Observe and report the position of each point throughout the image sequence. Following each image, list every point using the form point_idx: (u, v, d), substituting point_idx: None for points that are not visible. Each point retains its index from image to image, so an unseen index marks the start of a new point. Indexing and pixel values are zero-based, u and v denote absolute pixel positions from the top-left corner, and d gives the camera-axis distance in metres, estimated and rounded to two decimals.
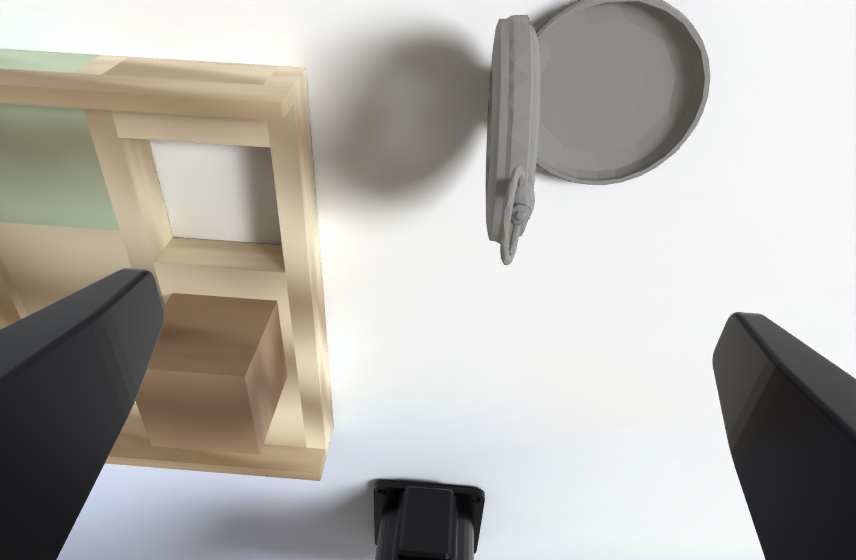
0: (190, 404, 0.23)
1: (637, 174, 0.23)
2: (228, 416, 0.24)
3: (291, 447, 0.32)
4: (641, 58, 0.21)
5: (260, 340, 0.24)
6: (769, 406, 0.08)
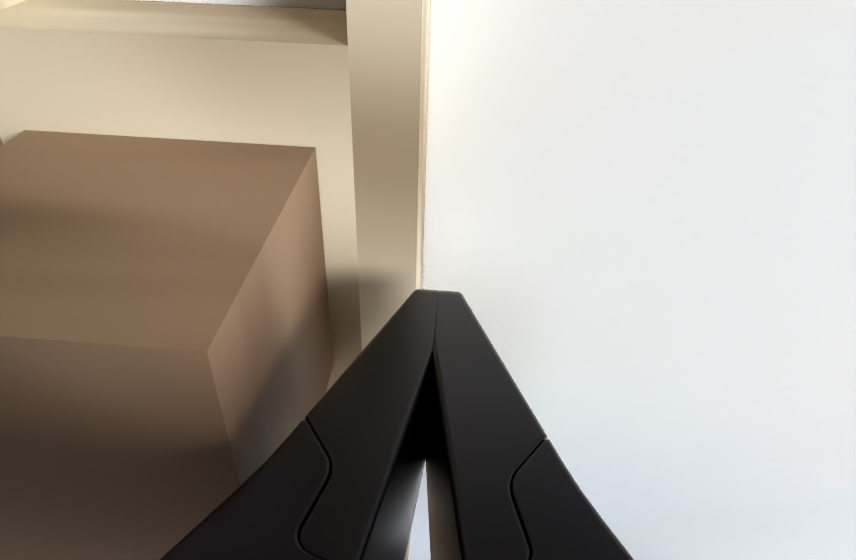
0: (24, 451, 0.07)
1: None
2: (161, 491, 0.07)
3: None
4: None
5: (269, 237, 0.07)
6: None
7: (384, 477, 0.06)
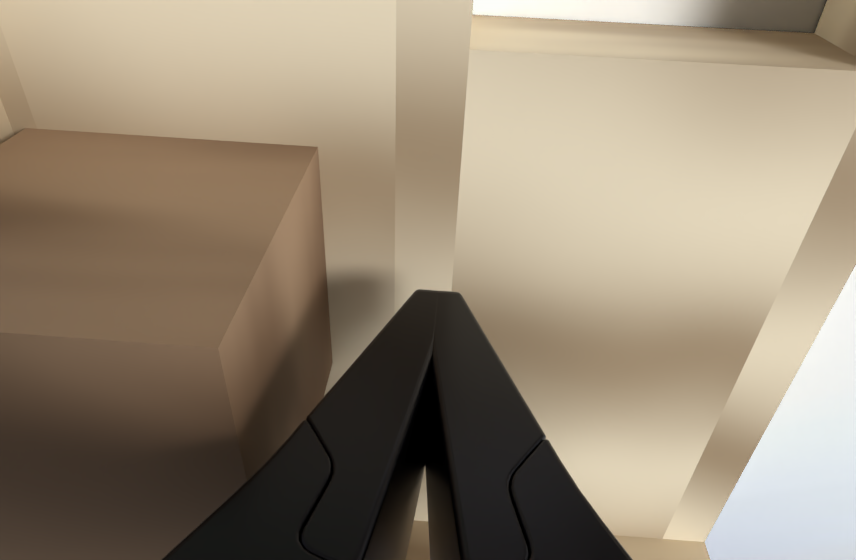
0: (30, 449, 0.07)
1: None
2: (168, 487, 0.07)
3: (627, 539, 0.15)
4: None
5: (275, 235, 0.07)
6: None
7: (386, 477, 0.06)
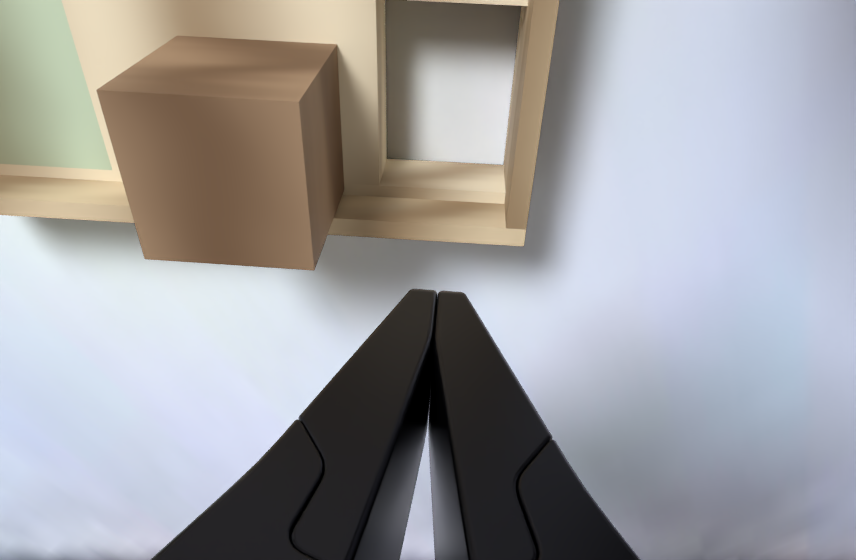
0: (193, 190, 0.15)
1: None
2: (204, 136, 0.14)
3: None
4: None
5: (139, 62, 0.15)
6: (433, 380, 0.08)
7: (377, 476, 0.06)
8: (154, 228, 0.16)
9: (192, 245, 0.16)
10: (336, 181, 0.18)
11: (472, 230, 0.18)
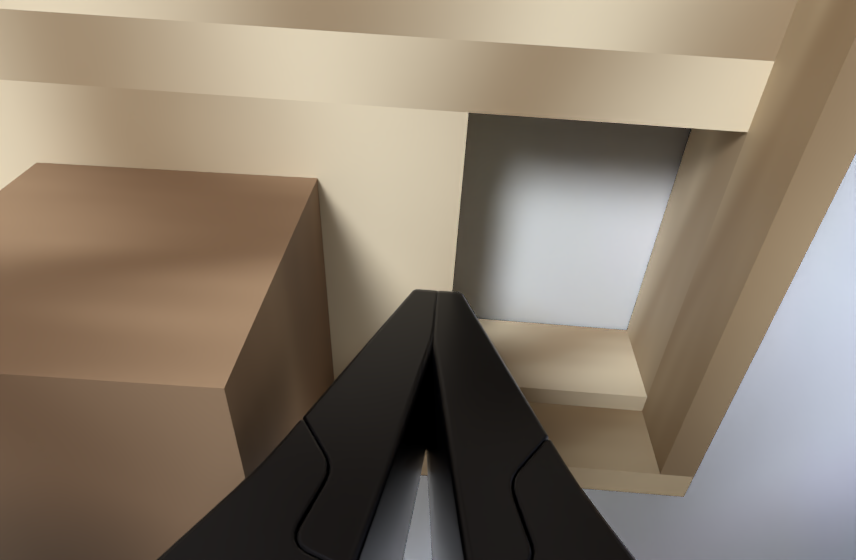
0: (31, 507, 0.07)
1: None
2: (32, 435, 0.07)
3: None
4: None
5: None
6: (430, 380, 0.08)
7: (382, 477, 0.06)
8: None
9: None
10: (320, 392, 0.11)
11: (602, 473, 0.11)
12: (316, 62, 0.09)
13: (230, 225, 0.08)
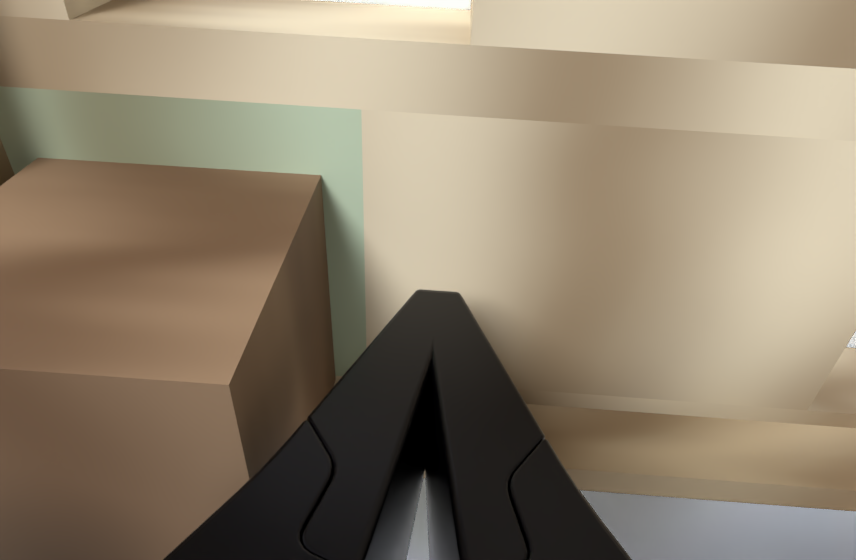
0: (31, 504, 0.07)
1: None
2: (34, 432, 0.07)
3: None
4: None
5: None
6: None
7: (387, 477, 0.06)
8: None
9: None
10: (321, 391, 0.11)
11: None
12: (828, 99, 0.08)
13: (234, 221, 0.08)
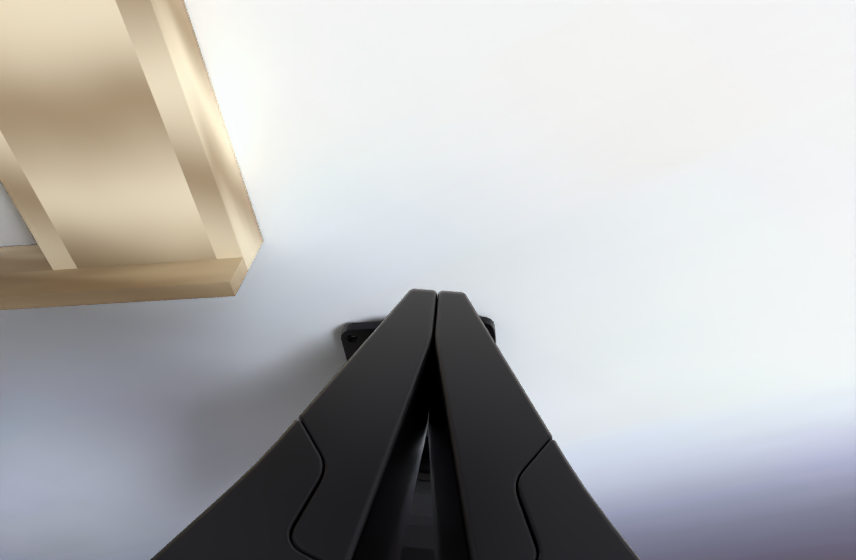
0: None
1: None
2: None
3: (197, 263, 0.22)
4: None
5: None
6: (433, 380, 0.08)
7: (377, 476, 0.06)
8: None
9: None
10: None
11: None
12: None
13: None
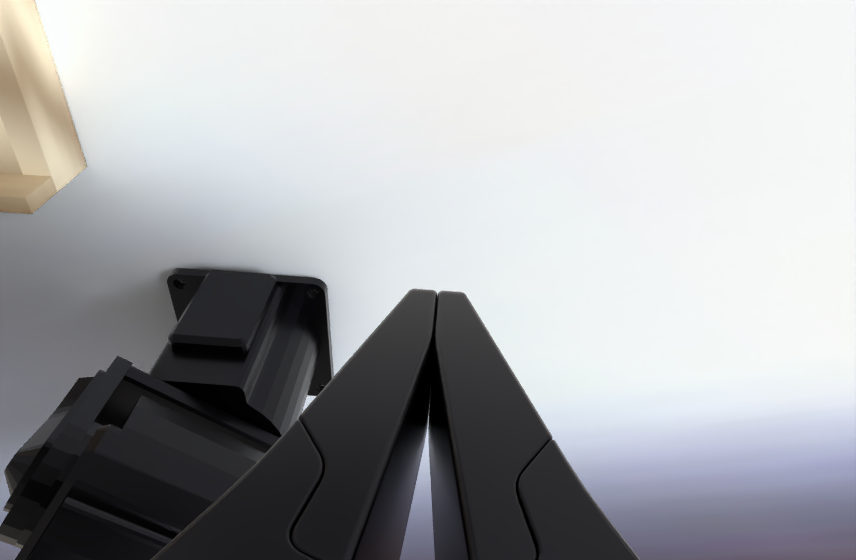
0: None
1: None
2: None
3: (1, 176, 0.21)
4: None
5: None
6: (433, 380, 0.08)
7: (377, 476, 0.06)
8: None
9: None
10: None
11: None
12: None
13: None
